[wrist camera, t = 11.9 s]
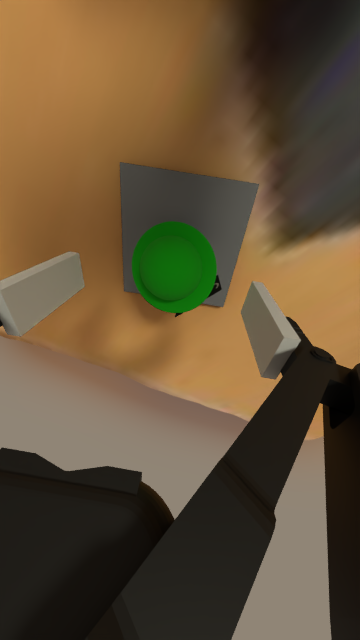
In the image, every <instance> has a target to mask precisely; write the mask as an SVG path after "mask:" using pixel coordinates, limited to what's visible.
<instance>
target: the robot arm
mask: <svg viewBox="0 0 360 640" xmlns="http://www.w3.org/2000/svg"><path fill="white" fill-rule="evenodd" d="M84 287H85V285H84V280H83V274H82V268H81V262H80V256H79V253H76V252H70V251H69V252H66V253H64V254H62V255H59V256H57V257H55V258H52V259H50V260H48V261H45V262H43V263H41V264H38V265H36V266H34V267H31V268H29V269H27V270H24V271H22V272H19V273H17V274H15V275H12V276H10V277H8V278H5V279H3V280H1V281H0V327H1V326H2V325H3V327H4V329H5V331H6V333H7V334H9V335H15V336H22V335H24V334H25V333H26V332H27V331H29V330H30V329H31V328H32V327H34V326H35V325H36V324H38V323H39V322H40V321H41V320H43V319H44V318H45V317H47V316H48V315H49V314H50V313H52V312H53V311H54V310H55V309H57V308H58V307H59V306H61V305H62V304H63V303H64V302H66V301H67V300H68V299H70V298H71V297H72V296H73V295H75V294H76V293H77V292H79V291H80V290H81V289H82V288H84ZM241 315H242V318H243V321H244V324H245V327H246V330H247V333H248V337H249V340H250V343H251V346H252V349H253V352H254V355H255V359H256V362H257V365H258V368H259V371H260V374H261V377H264V378H270V379H276V378H277V377H278V375H279V374H280V372H281V373H282V376H283V377H282V378H281V380H280V381H279V383H278V384H277V385H276V387H275V388H274V389H273V391H272V392H271V393H270V395H269V396H268V397H267V399H266V400H265V401H264V403H263V404H262V405H261V407H260V408H259V409H258V411H257V412H256V413H255V415H254V416H253V418H252V419H251V420H250V422H249V423H248V424H247V426H246V427H245V428H244V430H243V431H242V433H241V434H240V435H239V436H238V438H237V439H236V440H235V442H234V443H233V445H232V446H231V447H230V448H229V450H228V451H227V453H226V454H225V455H224V456H223V458H221V460H220V461H219V462H218V463H217V465H216V466H215V467H214V469H213V470H212V471H211V473H210V474H209V475H208V477H207V478H206V479H205V481H204V482H203V483H202V485H201V486H200V487H199V489H198V490H197V491H196V493H195V494H194V495H193V497H192V498H191V499H190V501H189V502H188V503H187V505H186V506H185V507H184V509H183V510H182V511H181V513H180V514H179V515H178V517H177V518H176V519H175V520H174V518H173V516H172V514H171V512H170V510H169V508H168V507H167V505H166V504H165V502H164V501H163V499H162V498H161V497H160V496H159V495H158V494H157V493H156V491H154V490H153V489H152V488H151V487H150V486H148V485H147V484H145V483H143V482H142V481H141V478H142V472H138V471H132V470H126V469H121V468H115V467H109V466H105V467H97V468H90V469H83V470H75V471H64V470H62V469H60V468H59V467H57V466H55V465H54V464H52V463H51V462H49V461H47V460H46V459H44V458H42V457H41V456H39V455H37V454H36V453H30V452H24V451H19V450H13V449H7V448H1V449H0V640H231V638H232V636H233V633H234V631H235V628H236V626H237V623H238V621H239V618H240V616H241V613H242V611H243V608H244V605H245V603H246V601H247V598H248V596H249V593H250V591H251V588H252V586H253V583H254V581H255V578H256V575H257V573H258V571H259V568H260V565H261V563H262V560H263V558H264V555H265V553H266V550H267V548H268V545H269V543H270V540H271V538H272V535H273V532H274V529H275V522H276V518H275V515H274V510H275V507H276V504H277V502H278V499H279V497H280V494H281V492H282V490H283V488H284V485H285V483H286V481H287V478H288V476H289V473H290V471H291V469H292V466H293V464H294V462H295V459H296V457H297V455H298V452H299V450H300V448H301V445H302V443H303V441H304V438H305V436H306V434H307V431H308V429H309V427H310V424H311V422H312V420H313V417H314V415H315V413H316V410H317V408H318V406H319V403H321V404H323V426H324V454H325V483H326V484H325V485H326V513H327V543H328V572H329V602H330V623H331V636H332V640H360V363H359V364H357V365H356V366H355V367H354V368H353V369H349V368H346V367H343V366H341V365H338V364H336V360H335V359H334V357H333V356H331V355H330V354H329V353H328V352H326V351H325V350H323V349H321V348H318V347H315V346H313V345H312V344H311V343H310V341H309V340H308V338H307V337H306V336H305V334H303V331H302V330H301V329H300V327H299V326H298V325H297V323H296V322H295V321H293V320H292V319H291V318H290V317H285V316H284V314H283V313H282V311H281V310H280V308H279V307H278V305H277V304H276V302H275V301H274V299H273V298H272V296H271V295H270V293H269V292H268V290H267V289H266V287H265V286H264V284H263V283H261V282H255V281H252V283H251V286H250V289H249V291H248V294H247V297H246V300H245V302H244V305H243V308H242V310H241Z"/></svg>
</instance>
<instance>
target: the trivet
mask: <svg viewBox="0 0 360 640" xmlns="http://www.w3.org/2000/svg"><path fill="white" fill-rule="evenodd" d="M120 184H121V215H122V245H123V276H124V291H127V292H133V293H139V294H140V292H139V290H138V289H137V287H136V284H135V282H134V278H133V274H132V256H133V252H134V249H135V247H136V244H137V243H138V241H139V239H140V238H141V237H142V235H143V234H144V233H145V232H146V231H147V230H149V229H150V228H151V227H153V226H155V225H157V224H160V223H163V222H169V221H175V222H182V223H185V224H188V225H190V226H192V227H194V228H195V229H197V230H198V231H199V232H201V233H202V234H203V235H204V236H205V238H206V239H207V240H208V242H209V243H210V245H211V247H212V249H213V252H214V254H215V258H216V264H217V274H216V276H217V275H218V276H219V280H220V284H221V288H222V290H220V291H219V292H217V293H215V294H214V295H212V296H210V297H209V298H207V299H206V300H205V301H204V302H203V303H201V304H208V305H214V306H220V307H223V306H224V302H225V299H226V296H227V292H228V289H229V285H230V282H231V279H232V275H233V272H234V268H235V265H236V262H237V258H238V255H239V251H240V248H241V245H242V241H243V238H244V234H245V231H246V228H247V224H248V221H249V217H250V214H251V210H252V207H253V204H254V200H255V197H256V193H257V190H258V187H259V184H256V183H249V182H243V181H237V180H230V179H224V178H217V177H211V176H205V175H198V174H192V173H186V172H179V171H173V170H166V169H160V168H154V167H147V166H141V165H135V164H128V163H122V162H120Z"/></svg>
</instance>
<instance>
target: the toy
mask: <svg viewBox="0 0 360 640" xmlns="http://www.w3.org/2000/svg"><path fill="white" fill-rule="evenodd" d="M132 274H133V278H134V282H135V284H136V287H137V289H138V290H139V292H140V294H141V295H142V296H143V297H144V299H145V300H146V301H147V302H149V303H150V304H151V305H153V306H154V307H155V308H158V309H160V310H162V311H165V312H170V313H176V315H175V317H177V316H178V315H180V314H182V313H183V312H187V311H190V310H192V309H194V308H196V307H197V306H199V305H200V304H201V303H203V302H204V301H205V300H206V299H207V298H209V297H210V296H212V295H214V294H215V293H217V292H219V291H220V290H222V288H221V284H220V280H219V276H218V275H217V276H216V274H217V264H216V258H215V254H214V252H213V249H212V247H211V245H210V243H209V242H208V240H207V239H206V238H205V236H204V235H203V234H202V233H201V232H199V231H198V230H197V229H195V228H194V227H192V226H190V225H188V224H185V223H182V222H175V221H169V222H163V223H160V224H157V225H155V226H153V227H151V228H150V229H149V230H147V231H146V232H145V233H144V234H143V235H142V237H141V238H140V239H139V241H138V243H137V244H136V247H135V249H134V252H133V256H132Z"/></svg>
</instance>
